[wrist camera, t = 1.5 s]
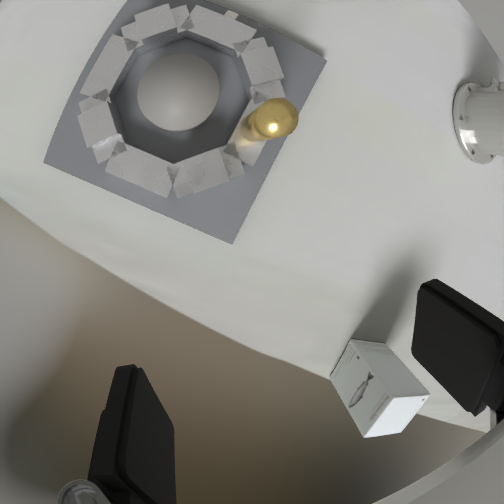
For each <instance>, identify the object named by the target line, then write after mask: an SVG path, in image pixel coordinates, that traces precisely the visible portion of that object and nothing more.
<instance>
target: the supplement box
mask: <svg viewBox="0 0 504 504" xmlns="http://www.w3.org/2000/svg"><path fill="white" fill-rule="evenodd" d="M330 380H331V381H332V383H333V385H334V387H335V388H336V390H337V392H338V394H339V396H340V397H341V399H342V401H343V402H344V404H345V406H346V407H347V409H348V411H349V413H350V414H351V416H352V418H353V420H354V421H355V423H356V425H357V427H358V428H359V430H360V432H361V434H362V435H363V437H364V438H365V437H374V436H381V435H388V434H394V433H400V432H401V431H402V430H403V429H404V428H405V427H406V425H407V424H408V423H409V422H410V420H411V419H412V418H413V417H414V415H415V414H416V413H417V411H418V410H419V409H420V407H421V406H422V405H423V403H424V402H425V401H426V399H427V398H428V397H429V395H430V393H429V391H428V390H427V389H426V388H425V387H424V386H423V385H422V384H421V382H420V381H419V380H418V379H417V378H416V377H415V376H414V374H413V373H412V372H411V371H410V370H409V369H408V368H407V367H406V366H405V364H404V363H403V362H402V361H401V360H400V359H399V358H398V357H397V355H396V354H395V353H394V352H393V351H392V350H391V349H390V348H389V347H388V346H387V344H385V343H378V342H370V341H362V340H355V339H350V341H349V343H348V346H347V348H346V350H345V352H344V353H343V355H342V357H341V359H340V361H339V362H338V364H337V366H336V368H335V369H334V371H333V372H332V374H331V376H330Z"/></svg>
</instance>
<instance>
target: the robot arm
mask: <svg viewBox="0 0 504 504" xmlns="http://www.w3.org/2000/svg"><path fill="white" fill-rule="evenodd" d="M498 83H499V84H498ZM497 88H498V89H497ZM453 118H454V125H455V131H456V134H457V137H458V140H459V142H460V145H461V147H462V148H463V150H464V152H465V153H466V155H467V156H468V157H469V158H470V159H471V160H473V161H475V162H477V163H482V164H485V163H489V162H491V161H492V160H493V159H494V158H495V156H496V155H498V156H504V82H499V81H498V79H496V78H494V77H492V78H491V83H490V87H485V88H483V87H482V86H481V85H479V84H476V83H467V84H464V85H462V86H461V87H460V88H459V89H458V91H457V93H456V96H455V99H454V106H453ZM411 351H412V355H413V356H414V358H415V359H416V360H417V361H418V362H419V363H420V364H421V365H422V366H423V367H424V368H425V369H426V370H427V371H428V372H429V373H430V374H431V375H432V376H433V377H434V378H435V379H436V380H437V381H438V382H439V383H440V384H441V385H442V386H443V387H444V388H445V389H446V390H447V392H448V393H449V394H450V395H451V396H452V397H453V398H454V399H455V400H456V401H457V402H458V403H459V404H460V405H461V406H462V407H463V408H464V409H465V410H466V411H467V412H471V413H472V414H473V415H474V416H477V415H478V414H479V413H481V412H482V411H483V410H485V408H486V406H487V405H488V406H489V407H490V431H489V432H488V433H486V434H485V435H484V436H483V437H481V439H479V440H478V441H476V442H475V443H474V444H473V445H471V446H470V447H468V448H467V449H466V450H464V451H463V452H461V453H460V454H459V455H457V456H456V457H454V458H453V459H451V460H450V461H448V462H447V463H446V464H444V465H442V466H441V467H439V468H438V469H436V470H435V471H433V472H431V473H430V474H428V475H427V476H425V477H423V478H421V479H420V480H418V481H416V482H414V483H413V484H411V485H409V486H407V487H405V488H404V489H401V490H400V491H398V492H396V493H394V494H392V495H390V496H388V497H386V498H384V499H382V500H379V501H377V502H375V503H373V504H504V321H502V320H501V319H499V318H498V317H496V316H495V315H493V314H492V313H490V312H489V311H487V310H486V309H484V308H483V307H481V306H480V305H478V304H477V303H475V302H473V301H472V300H470V299H469V298H467V297H466V296H464V295H462V294H461V293H459V292H458V291H456V290H454V289H453V288H451V287H449V286H448V285H446V284H445V283H443V282H441V281H440V280H438V279H433V280H430V281H428V282H425V283H423V284H422V285H421V286H420V289H419V290H418V294H417V306H416V316H415V325H414V333H413V340H412V347H411ZM57 501H58V502H57V503H58V504H176V486H175V456H174V427H173V424H172V422H171V420H170V418H169V416H168V415H167V413H166V411H165V409H164V408H163V406H162V404H161V402H160V401H159V399H158V397H157V395H156V393H155V391H154V390H153V388H152V386H151V384H150V382H149V380H148V378H147V376H146V374H145V372H144V370H143V369H142V368H137V366H136V365H134V364H132V365H125V366H119V367H117V368H116V370H115V373H114V377H113V381H112V385H111V388H110V392H109V396H108V400H107V404H106V408H105V410H103V411H102V414H101V417H100V421H99V425H98V429H97V434H96V438H95V443H94V448H93V452H92V458H91V463H90V469H89V473H88V479H87V480H75V481H72V482H70V483H68V484H67V485H66V486H64V487H63V488H62V490H61V492H60V493H59V496H58V500H57Z"/></svg>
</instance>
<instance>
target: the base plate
mask: <svg viewBox="0 0 504 504" xmlns="http://www.w3.org/2000/svg"><path fill="white" fill-rule="evenodd" d="M164 4H169V6H170V9H173V8H176V7H179V6H183V5H186V6H187V9H188V11H189V14H190V13H191V11H192V10H193V9H194V7H195V6H196V5H198V6H201V7H204V8H206V9H209V10H212V11H214V12H217V13H219V14H222V15H224V16H227V17H229V18H231V19H234V20H236V21H238V22H241V23H243V24H245V25H247V26H249V27H252V28H254V29H256V30H257V31H256V33H255V35H254V37H253V38H252V39H256V38H261V37H264V39H265V41H266V44H267V46H268V47H272V46H273V48H274V51H275V53H276V56H277V59H278V61H279V64H280V67H281V69H282V72H283V75H284V78H283V79H282V80H281V81H280V82H281V85H282V87H283V90H284V93H285V97H284V98H283V99H286V100H288V101H289V102H291V103H292V104H293V105H294V107H295V108H296V110H297V113H298V115H299V113H300V111H301V109H302V107H303V105H304V103H305V101H306V99H307V98H308V96H309V94H310V92H311V90H312V88H313V86H314V84H315V83H316V81H317V79H318V77H319V75H320V73H321V71H322V70H323V68H324V66H325V64H326V62H327V60H325V59H323V58H322V57H320V56H319V55H317V54H315V53H314V52H312V51H310V50H309V49H307V48H305V47H303V46H302V45H300V44H298V43H296V42H295V41H293V40H291V39H289V38H287V37H286V36H284V35H282V34H280V33H278V32H276V31H274V30H272V29H270V28H268V27H266V26H264V25H262V24H260V23H258V22H256V21H254V20H251V19H249V18H247V17H245V16H242V15H240V14H238V13H236V12H233V11H231V10H228V9H226V8H223V7H221V6H218V5H216V4H213V3H211V2H208V1H205V0H127V2H126V3H125V4H124V6H123V7H122V9H121V10H120V11H119V13H118V14H117V16H116V17H115V19H114V20H113V22H112V23H111V25H110V26H109V28H108V29H107V31H106V32H105V34H104V35H103V37H102V38H101V40H100V42H99V43H98V45H97V47H96V48H95V50H94V52H93V53H92V55H91V57H90V59H89V60H88V62H87V64H86V66H85V68H84V70H83V71H82V73H81V75H80V77H79V79H78V81H77V83H76V85H75V87H74V89H73V91H72V93H71V95H70V97H69V99H68V102H67V104H66V106H65V108H64V110H63V113H62V115H61V117H60V120H59V122H58V125H57V127H56V129H55V132H54V135H53V137H52V140H51V142H50V145H49V148H48V151H47V153H46V156H45V159H44V162H43V163H45V164H48V165H50V166H52V167H55V168H57V169H59V170H62V171H64V172H66V173H68V174H71V175H73V176H75V177H78V178H80V179H82V180H84V181H87V182H89V183H91V184H94V185H96V186H98V187H101V188H103V189H105V190H107V191H110V192H112V193H114V194H117V195H119V196H121V197H124V198H126V199H128V200H130V201H133V202H135V203H137V204H140V205H142V206H144V207H147V208H149V209H151V210H153V211H156V212H158V213H160V214H163V215H165V216H167V217H170V218H172V219H174V220H177V221H179V222H181V223H183V224H186V225H188V226H190V227H193V228H195V229H197V230H200V231H202V232H204V233H206V234H209V235H211V236H213V237H216V238H218V239H220V240H223V241H225V242H227V243H230V244H233V242H234V240H235V238H236V236H237V234H238V232H239V230H240V228H241V226H242V224H243V222H244V220H245V218H246V216H247V214H248V212H249V210H250V208H251V206H252V204H253V202H254V200H255V198H256V196H257V194H258V192H259V190H260V188H261V186H262V184H263V182H264V180H265V178H266V176H267V175H268V173H269V171H270V169H271V167H272V165H273V163H274V161H275V159H276V157H277V155H278V153H279V151H280V149H281V147H282V145H283V143H284V141H285V140H286V138H287V136H288V135H287V136H284V137H279V138H274V139H269V140H267V141H266V143H265V145H264V147H263V149H262V151H261V153H260V155H259V157H258V158H257V160H256V162H255V164H254V166H249V165H247V164H245V163H243V162H241V163H242V166H243V169H244V172H245V174H243V175H240V176H237V177H234V178H231V179H229V180H230V181H228V182H225V183H222V184H219V185H217V186H214V187H211V188H208V189H206V190H203V191H200V192H198V193H195V194H194V192H193V193H190V194H187V195H185V196H182V197H180V198H177V196H176V193H175V190H174V188H173V187H172V189H171V191H170V194H169V196H168V197H167V198H165V197H163V196H161V195H158V194H156V193H154V192H151V191H149V190H147V189H145V188H142V187H140V186H138V185H135V184H133V183H131V182H128V181H126V180H124V179H121V178H119V177H117V176H114V175H112V174H110V173H107V172H105V169H106V166H107V164H108V162H106V163H102V164H98V163H97V160H96V157H95V154H94V151H93V148H87V146H86V143H85V140H84V137H83V133H82V130H81V127H80V124H79V120H78V117H77V116H78V115H80V114H82V113H81V110H80V106H79V102H81V101H83V100H85V99H87V98H88V97H87V96H85V95H83V94H81V93H80V91H81V89H82V87H83V85H84V83H85V81H86V79H87V77H88V75H89V74H90V72H91V70H92V68H93V66H94V64H95V63H96V61H97V59H98V57H99V56H100V54H101V52H102V51H103V49H104V47H105V46H106V44H107V42H108V41H109V39H110V37H111V36H112V34H114V35H117V36H121V37H123V34H122V30H121V27H123V26H125V25H128V24H130V23H133V22H135V21H136V20H135V17H134V15H136V14H139V13H141V12H144V11H147V10H150V9H152V8H155V7H158V6H161V5H164ZM114 99H115V102H116V105H117V109H118V112H119V115H120V118H121V121H122V124H123V127H124V130H125V133H126V136H127V139H128V142H129V144H131V145H133V146H135V147H138V148H140V149H143V150H145V151H147V152H150V153H152V154H154V155H157V156H159V157H161V158H164V159H166V160H168V161H170V162H173V163H178V162H180V161H183V160H185V159H188V158H191V157H193V156H196V155H199V154H202V153H204V152H207V151H210V150H213V149H216V148H219V147H222V146H225V144H226V143H227V141H228V139H229V137H230V135H231V133H232V131H233V129H234V127H235V125H236V123H237V121H238V120H239V118H240V116H241V114H242V112H243V110H244V108H245V107H246V105H247V103H248V98H247V95H246V92H245V89H244V86H243V84H242V81H241V78H240V75H239V72H238V70H237V67H236V64H235V61H234V59H233V56H231V55H228V54H226V53H224V52H222V51H219V50H217V49H215V48H212V47H210V46H208V45H205V44H203V43H200V42H198V41H195V40H193V39H190V38H184V39H181V40H178V41H175V42H172V43H169V44H166V45H163V46H160V47H158V48H155V49H152V50H150V51H147V52H144V53H142V54H139V55H138V57H137V58H136V60H135V62H134V63H133V65H132V67H131V69H130V70H129V72H128V74H127V76H126V78H125V79H124V81H123V83H122V85H121V87H120V89H119V91H118V93H117V94H116V96H115V98H114Z"/></svg>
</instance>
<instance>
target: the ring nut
mask: <svg viewBox="0 0 504 504" xmlns="http://www.w3.org/2000/svg"><path fill="white" fill-rule="evenodd" d="M134 17H135V20H136V21H135V22H133V23H130V24H128V25H125V26H123V27H121V30H122V34H123V37H121V36H117V35H114V34H112V36H111V37H110V39H109V41H108V42H107V44H106V46H105V47H104V49H103V51H102V52H101V54H100V56H99V57H98V59H97V61H96V63H95V64H94V66H93V68H92V70H91V72H90V74H89V75H88V77H87V79H86V81H85V83H84V85H83V87H82V89H81V91H80V93H81V94H83V95H85V96H87V97H88V98H87V99H85V100H83V101H81V102H79V106H80V110H81V113H82V114H80V115H78V116H77V117H78V120H79V124H80V127H81V130H82V133H83V137H84V140H85V143H86V146H87V148H93V151H94V154H95V157H96V160H97V163H98V164H102V163H106V162H108V164H107V166H106V169H105V172H107V173H110V174H112V175H114V176H117V177H119V178H121V179H124V180H126V181H128V182H131V183H133V184H135V185H138V186H140V187H142V188H145V189H147V190H149V191H151V192H154V193H156V194H158V195H161V196H163V197H165V198H167V197H168V196H169V194H170V191H171V189H172V187H173V188H174V190H175V193H176V196H177V198H180V197H182V196H185V195H187V194H190V193H193V192H194V194H195V193H198V192H200V191H203V190H206V189H208V188H211V187H214V186H217V185H219V184H222V183H225V182H228V181H230V180H229V179H231V178H234V177H237V176H240V175H243V174H245V172H244V169H243V166H242V163H241V162H243V163H245V164H247V165H249V166H254V164H255V162H256V160H257V158H258V157H259V155H260V153H261V151H262V149H263V147H264V145H265V143H266V141H267V140H269V139H274V138H279V137H284V136H287V135H289V134H291V133H292V132H293V131H294V130H295V128H296V127H297V124H298V113H297V110H296V108H295V107H294V105H293V104H292V103H291V102H289V101H288V100H286V99H283V98H284V97H285V93H284V90H283V87H282V85H281V82H280V81H281V80H282V79H283V78H284V75H283V72H282V69H281V67H280V64H279V61H278V59H277V56H276V53H275V51H274V48H273V46H272V47H268V46H267V44H266V41H265V39H264V37H261V38H256V39H252V38H253V37H254V35H255V33H256V31H257V30H256V29H254V28H252V27H249V26H247V25H245V24H243V23H241V22H238V21H236V20H234V19H231V18H229V17H227V16H224V15H222V14H219V13H217V12H214V11H212V10H209V9H206V8H204V7H201V6H198V5H196V6H195V7H194V9H193V10H192V11H191V13H190V14H189V11H188V9H187V6H186V5H183V6H179V7H176V8H173V9H170V6H169V4H164V5H161V6H158V7H155V8H152V9H150V10H147V11H144V12H141V13H139V14H136V15H134ZM184 38H190V39H193V40H195V41H198V42H200V43H203V44H205V45H208V46H210V47H212V48H215V49H217V50H219V51H222V52H224V53H226V54H228V55H231V56H233V59H234V61H235V64H236V67H237V70H238V72H239V75H240V78H241V81H242V84H243V86H244V89H245V92H246V95H247V98H248V103H247V105H246V107H245V108H244V110H243V112H242V114H241V116H240V118H239V120H238V121H237V123H236V125H235V127H234V129H233V131H232V133H231V135H230V137H229V139H228V141H227V143H226V144H225V146H222V147H219V148H216V149H213V150H210V151H207V152H204V153H202V154H199V155H196V156H193V157H191V158H188V159H185V160H183V161H180V162H178V163H173V162H170V161H168V160H166V159H164V158H161V157H159V156H157V155H154V154H152V153H150V152H147V151H145V150H143V149H140V148H138V147H135V146H133V145H131V144H129V142H128V139H127V136H126V133H125V130H124V127H123V124H122V121H121V118H120V115H119V112H118V109H117V105H116V102H115V99H114V98H115V96H116V94H117V93H118V91H119V89H120V87H121V85H122V83H123V81H124V79H125V78H126V76H127V74H128V72H129V70H130V69H131V67H132V65H133V63H134V62H135V60H136V58H137V57H138V55H139V54H142V53H144V52H147V51H150V50H152V49H155V48H158V47H160V46H163V45H166V44H169V43H172V42H175V41H178V40H181V39H184Z"/></svg>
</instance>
